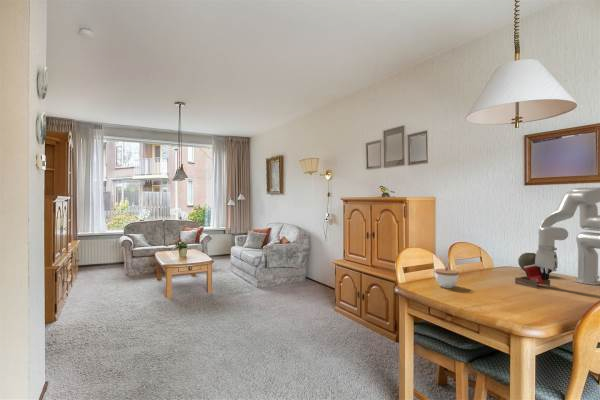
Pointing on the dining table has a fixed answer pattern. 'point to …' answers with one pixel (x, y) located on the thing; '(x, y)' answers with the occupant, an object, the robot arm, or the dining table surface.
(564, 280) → the dining table surface
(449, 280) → the lidded bowl
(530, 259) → the cantaloupe
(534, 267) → the canned food
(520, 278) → the corral
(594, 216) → the robot arm
